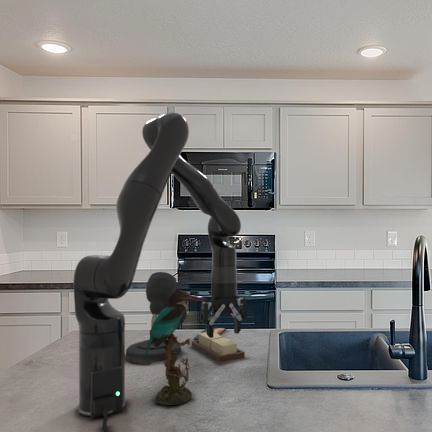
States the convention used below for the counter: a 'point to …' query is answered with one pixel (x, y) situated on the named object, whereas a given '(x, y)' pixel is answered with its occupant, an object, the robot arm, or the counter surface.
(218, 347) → the pad
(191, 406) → the counter surface
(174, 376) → the sculpture
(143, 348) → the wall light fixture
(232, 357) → the frame
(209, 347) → the pad
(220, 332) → the smartphone
